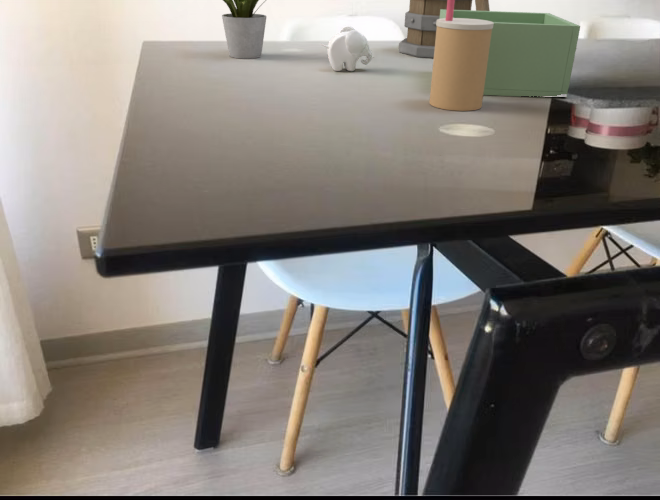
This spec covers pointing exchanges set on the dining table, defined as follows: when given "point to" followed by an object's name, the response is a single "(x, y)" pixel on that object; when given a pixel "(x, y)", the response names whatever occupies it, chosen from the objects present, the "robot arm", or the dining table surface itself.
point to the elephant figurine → (347, 49)
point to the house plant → (244, 29)
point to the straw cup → (460, 62)
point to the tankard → (429, 24)
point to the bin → (527, 52)
